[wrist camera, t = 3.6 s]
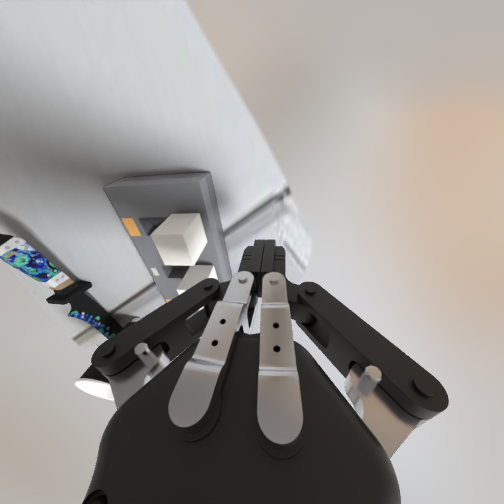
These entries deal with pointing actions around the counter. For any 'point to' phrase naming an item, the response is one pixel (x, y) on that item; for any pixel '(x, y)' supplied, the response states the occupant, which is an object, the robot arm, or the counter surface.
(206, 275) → the tab middle
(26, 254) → the knife
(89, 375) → the dixie cup
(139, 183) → the switch block
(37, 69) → the counter surface
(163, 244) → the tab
